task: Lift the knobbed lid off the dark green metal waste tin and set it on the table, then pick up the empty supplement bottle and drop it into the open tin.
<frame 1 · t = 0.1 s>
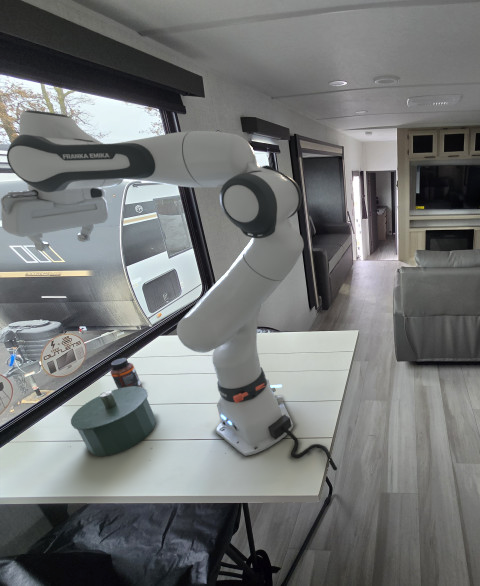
hand: (64, 245, 76), 52 cm above the table, tool tilted 20°, fingers open, 8 cm apart
waste tin: (124, 433, 87), on the table
supplement bottle: (131, 389, 105), on the table
tin lid: (111, 407, 83), point 9 cm above the table, touching waste tin
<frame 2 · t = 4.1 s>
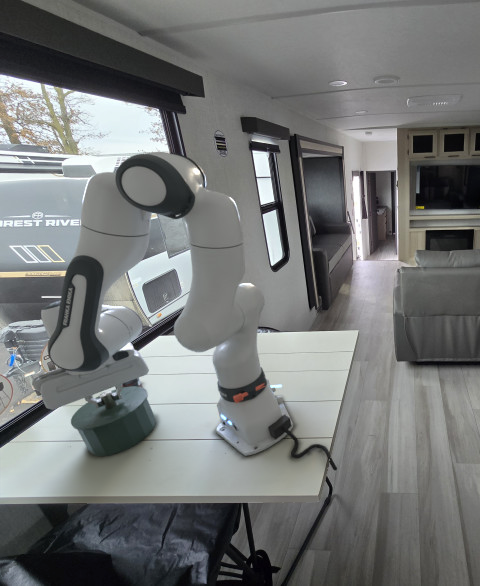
hand: (109, 402, 83), 11 cm above the table, tool pointing down, fingers closed on tin lid, 2 cm apart
tin lid: (111, 407, 83), point 9 cm above the table, touching gripper, waste tin
everything else where it was.
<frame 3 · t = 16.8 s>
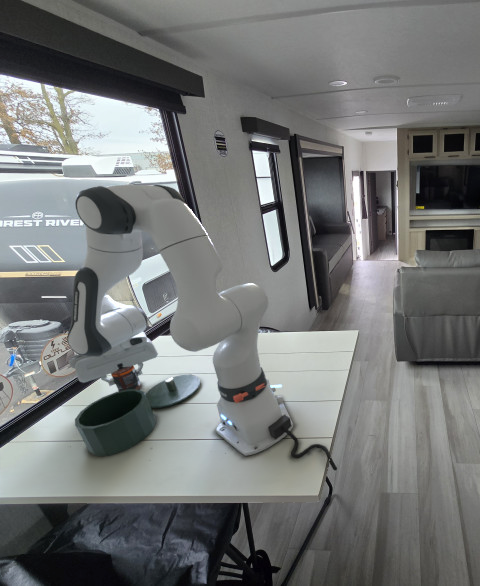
hand: (126, 379, 103), 4 cm above the table, tool pointing down, fingers closed on supplement bottle, 6 cm apart
supplement bottle: (131, 389, 105), on the table, touching gripper
tin lid: (173, 390, 102), point 1 cm above the table
when the fingers open (8 cm above the table, at t = 25.3 s): supplement bottle drops 3 cm, resting on waste tin.
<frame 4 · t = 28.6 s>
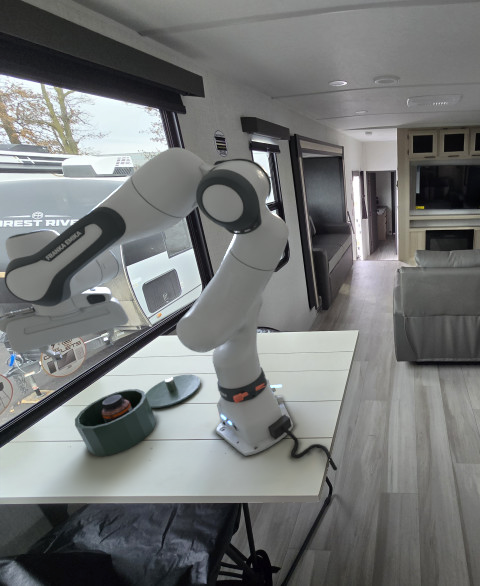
hand: (85, 351, 76), 27 cm above the table, tool pointing down, fingers open, 8 cm apart
supplement bottle: (127, 431, 87), resting on waste tin
everything else where it was.
at the end: tin lid inside the target area (0.2 cm from its centre), point 0.6 cm above the table; supplement bottle inside the target area in the waste tin (0.7 cm from its centre), point 0.3 cm above the waste tin's base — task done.
